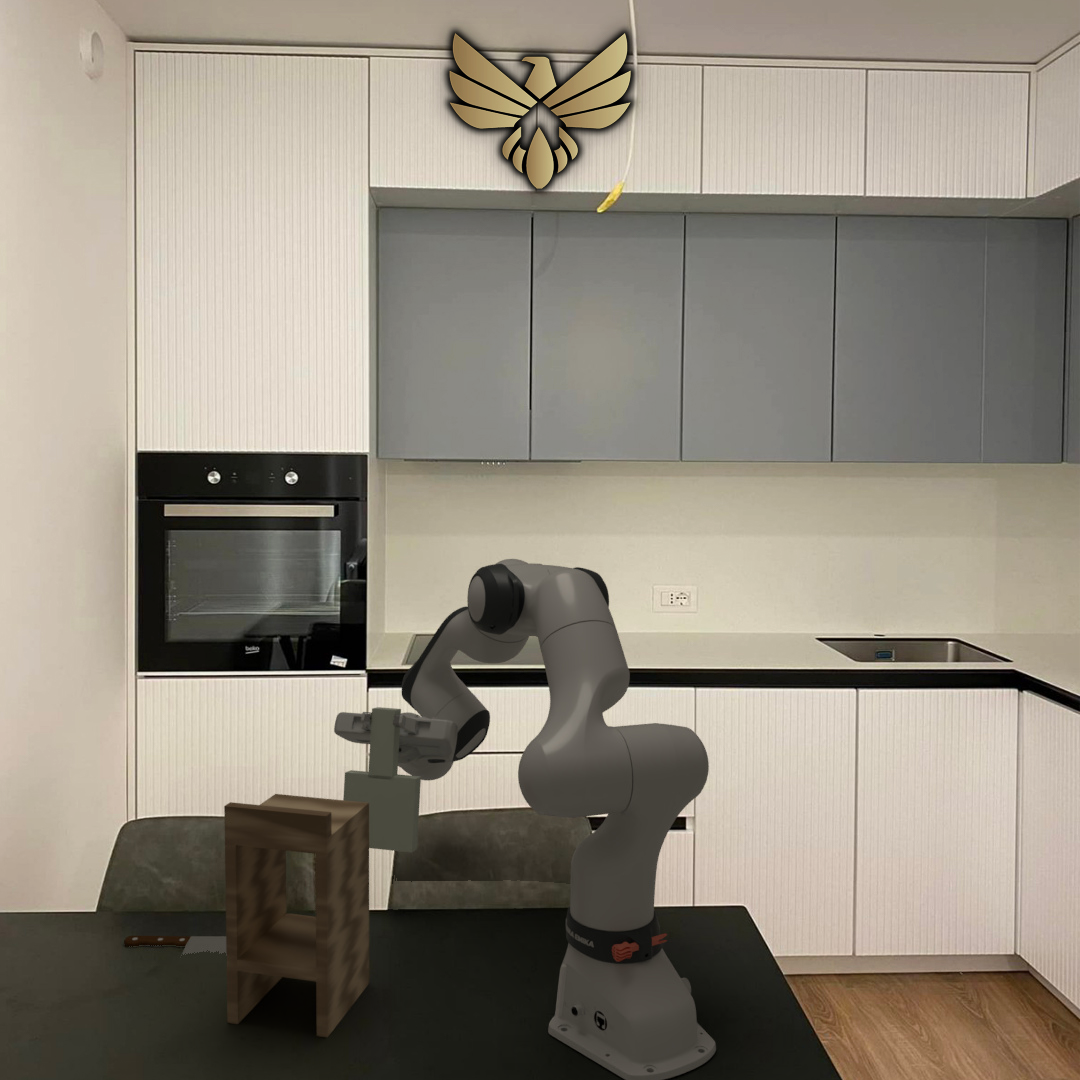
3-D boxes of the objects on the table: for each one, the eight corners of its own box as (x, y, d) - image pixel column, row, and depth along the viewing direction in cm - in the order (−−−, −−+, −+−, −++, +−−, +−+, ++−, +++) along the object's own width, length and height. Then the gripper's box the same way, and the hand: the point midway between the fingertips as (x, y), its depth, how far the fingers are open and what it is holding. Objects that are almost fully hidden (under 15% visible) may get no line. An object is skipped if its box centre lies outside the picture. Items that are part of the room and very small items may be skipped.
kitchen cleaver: (106, 963, 153) (132, 928, 163) (106, 970, 153) (132, 934, 163) (277, 966, 153) (292, 930, 163) (277, 972, 154) (292, 937, 163)
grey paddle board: (354, 705, 174) (348, 706, 172) (424, 710, 172) (419, 712, 169) (346, 841, 173) (340, 845, 171) (416, 849, 170) (411, 852, 168)
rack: (277, 970, 152) (275, 773, 150) (369, 983, 149) (369, 781, 146) (227, 1022, 139) (224, 806, 136) (327, 1037, 136) (326, 816, 133)
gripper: (354, 717, 186) (325, 694, 173) (466, 726, 181) (445, 703, 169) (347, 753, 183) (317, 732, 171) (461, 763, 179) (438, 742, 166)
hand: (381, 718), depth 170 cm, fingers closed on grey paddle board, 4 cm apart
